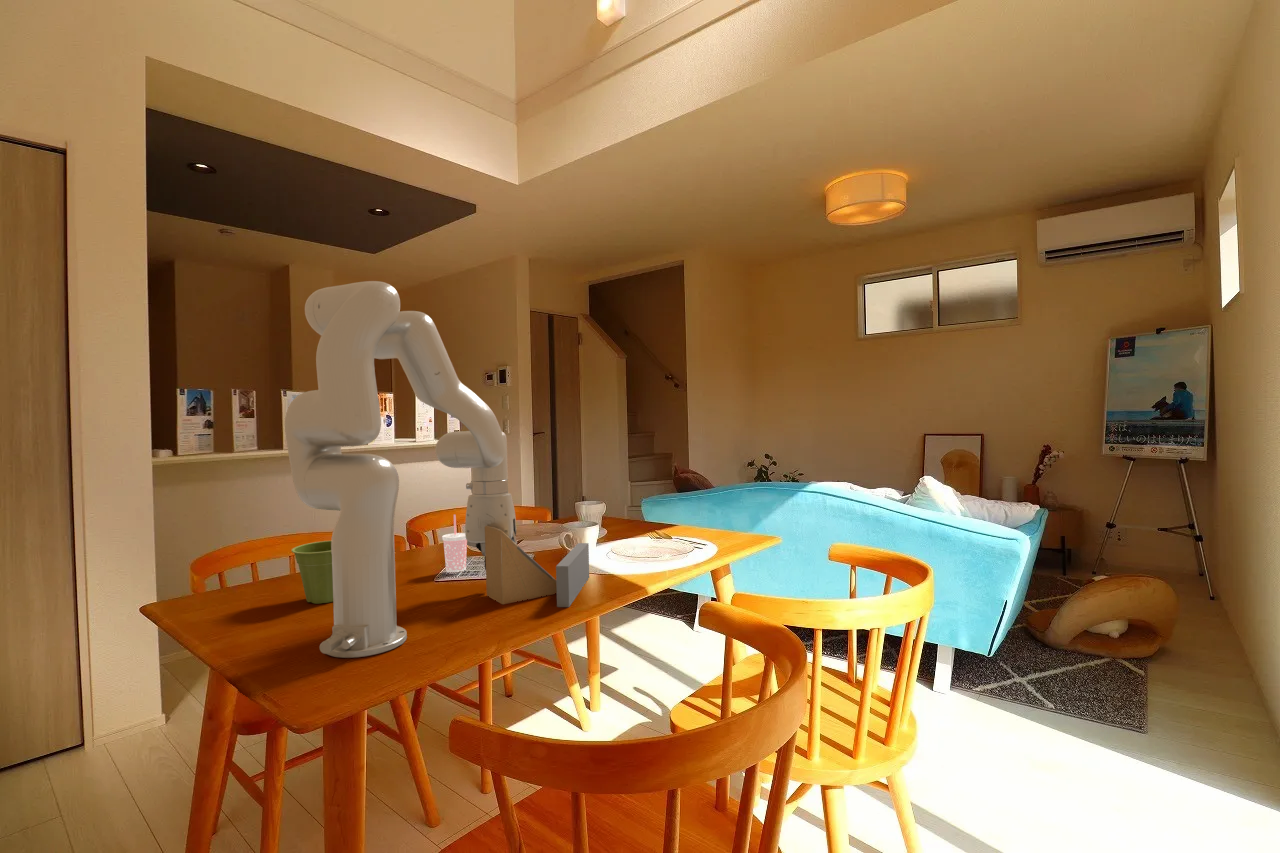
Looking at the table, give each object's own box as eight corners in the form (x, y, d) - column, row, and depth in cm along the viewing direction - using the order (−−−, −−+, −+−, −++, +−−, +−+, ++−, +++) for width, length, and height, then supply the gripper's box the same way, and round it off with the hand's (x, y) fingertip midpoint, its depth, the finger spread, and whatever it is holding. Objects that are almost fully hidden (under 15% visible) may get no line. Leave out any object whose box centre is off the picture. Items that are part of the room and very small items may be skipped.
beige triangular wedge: (570, 591, 133) (568, 521, 133) (502, 605, 124) (501, 530, 124) (551, 583, 140) (549, 516, 140) (486, 596, 131) (484, 524, 131)
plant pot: (287, 599, 131) (285, 546, 131) (346, 588, 139) (345, 537, 139) (301, 612, 122) (299, 554, 122) (364, 599, 130) (362, 545, 130)
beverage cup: (441, 570, 153) (439, 514, 153) (466, 567, 156) (465, 511, 156) (444, 576, 148) (443, 517, 147) (471, 573, 150) (469, 515, 150)
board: (569, 607, 122) (568, 566, 121) (557, 607, 122) (556, 566, 122) (589, 577, 143) (588, 543, 143) (579, 577, 144) (578, 543, 144)
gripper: (449, 490, 131) (452, 577, 132) (518, 490, 130) (521, 577, 130) (463, 486, 139) (466, 568, 139) (529, 485, 137) (531, 568, 137)
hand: (492, 572), depth 135 cm, fingers closed
